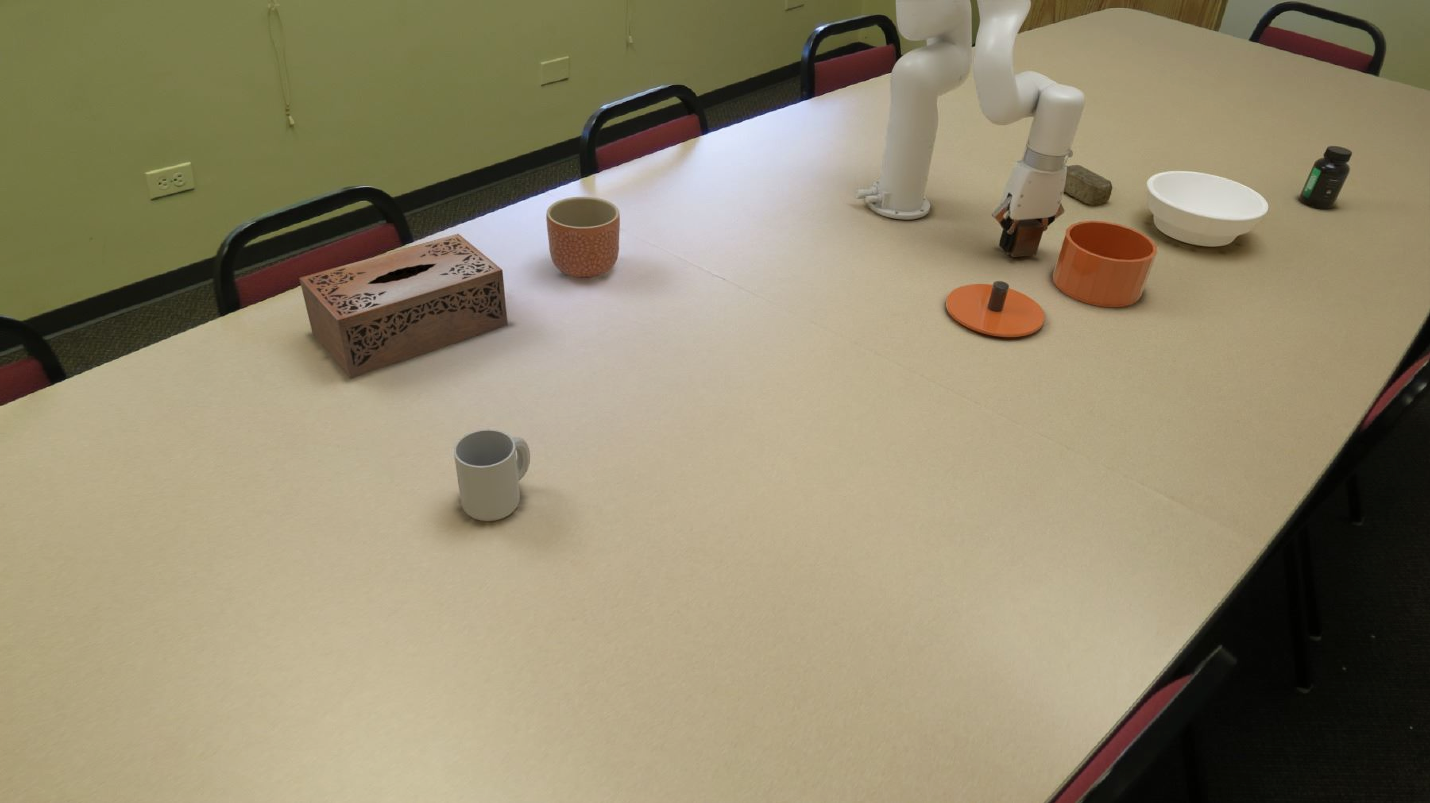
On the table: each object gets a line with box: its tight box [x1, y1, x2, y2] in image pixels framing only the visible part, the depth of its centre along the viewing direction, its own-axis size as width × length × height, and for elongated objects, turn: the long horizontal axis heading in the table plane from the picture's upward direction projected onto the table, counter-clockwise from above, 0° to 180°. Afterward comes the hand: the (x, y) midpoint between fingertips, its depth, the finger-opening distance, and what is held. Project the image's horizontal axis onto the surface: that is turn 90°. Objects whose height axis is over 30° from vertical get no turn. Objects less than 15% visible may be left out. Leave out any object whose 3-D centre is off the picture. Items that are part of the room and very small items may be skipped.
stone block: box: [1063, 164, 1113, 206], centre depth 203 cm, size 6×12×5 cm, turn 28°
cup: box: [453, 428, 531, 522], centre depth 118 cm, size 7×10×9 cm
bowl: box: [1146, 170, 1269, 247], centre depth 191 cm, size 22×22×8 cm
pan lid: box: [945, 280, 1045, 338], centre depth 161 cm, size 16×16×6 cm
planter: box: [545, 196, 621, 279], centre depth 165 cm, size 12×12×11 cm
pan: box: [1052, 220, 1158, 308], centre depth 170 cm, size 15×15×9 cm
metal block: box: [1008, 219, 1045, 258], centre depth 179 cm, size 5×5×6 cm
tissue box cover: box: [299, 233, 508, 379], centre depth 147 cm, size 26×14×10 cm, turn 129°
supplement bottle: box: [1298, 145, 1353, 210], centre depth 205 cm, size 7×7×12 cm
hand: (1018, 247), depth 181 cm, fingers closed on metal block, 5 cm apart
